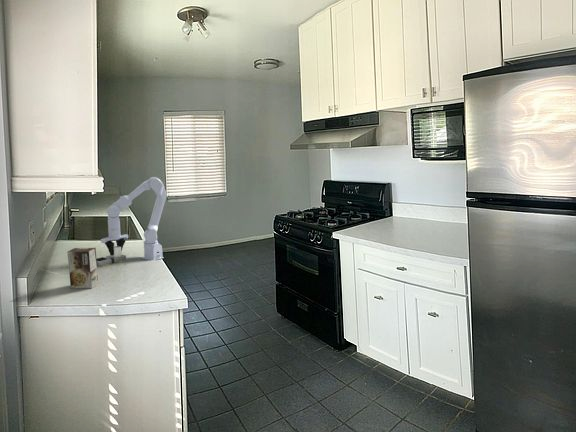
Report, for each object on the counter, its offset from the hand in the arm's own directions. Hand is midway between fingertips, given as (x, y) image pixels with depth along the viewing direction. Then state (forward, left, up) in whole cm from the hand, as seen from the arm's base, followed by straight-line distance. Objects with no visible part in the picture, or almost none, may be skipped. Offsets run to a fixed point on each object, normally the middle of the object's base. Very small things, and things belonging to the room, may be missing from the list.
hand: (115, 254), depth 203 cm
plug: (0, 0, -3) cm, 3 cm away
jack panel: (0, +4, -4) cm, 6 cm away
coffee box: (-24, +32, -4) cm, 40 cm away
